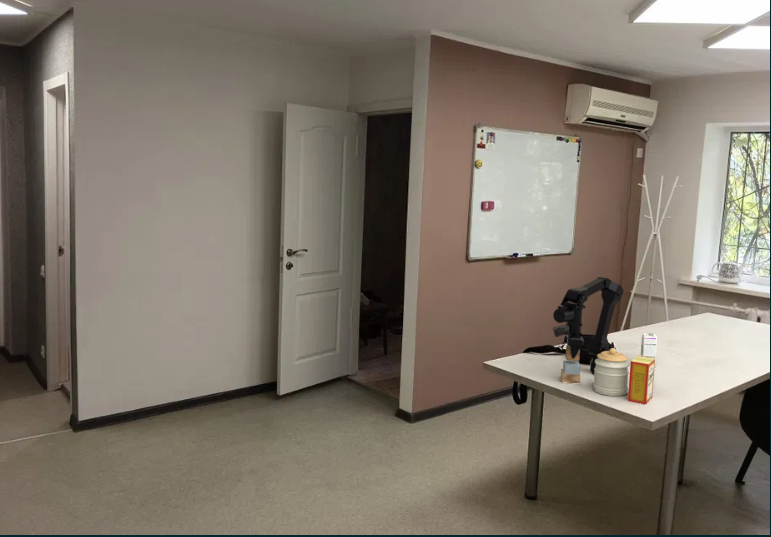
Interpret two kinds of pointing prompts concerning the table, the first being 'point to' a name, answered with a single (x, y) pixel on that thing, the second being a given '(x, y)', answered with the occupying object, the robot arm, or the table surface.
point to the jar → (611, 373)
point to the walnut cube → (569, 356)
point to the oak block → (569, 377)
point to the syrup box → (649, 345)
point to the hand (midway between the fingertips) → (572, 356)
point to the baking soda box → (641, 379)
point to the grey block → (571, 367)
